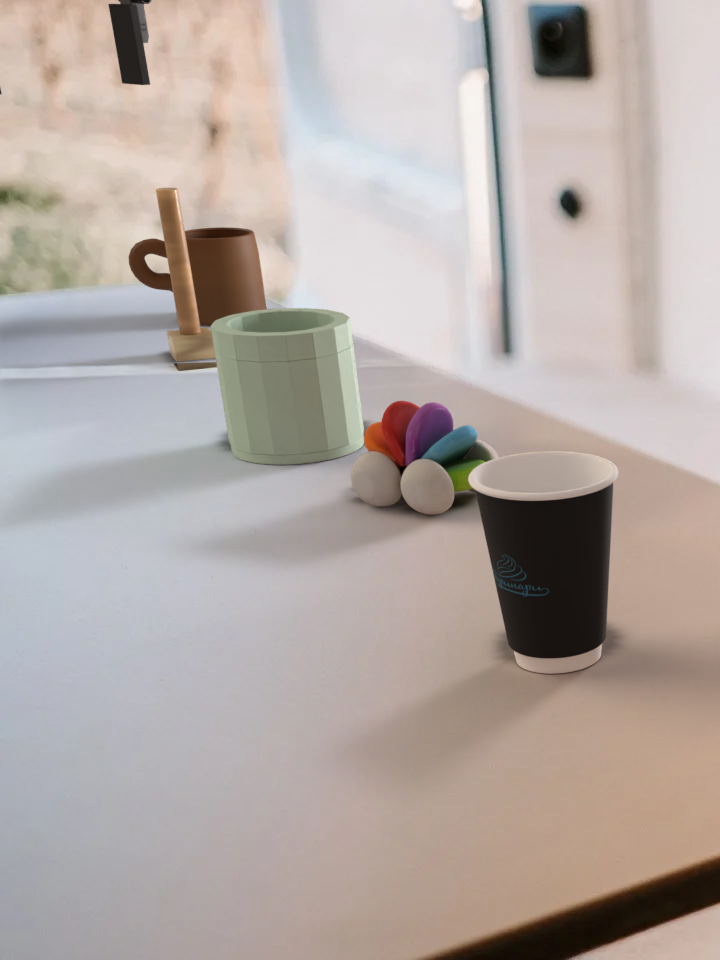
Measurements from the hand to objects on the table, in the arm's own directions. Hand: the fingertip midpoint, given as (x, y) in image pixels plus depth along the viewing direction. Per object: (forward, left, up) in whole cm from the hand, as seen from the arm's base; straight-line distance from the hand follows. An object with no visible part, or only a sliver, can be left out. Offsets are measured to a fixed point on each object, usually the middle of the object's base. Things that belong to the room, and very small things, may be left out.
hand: (64, 89), depth 135 cm
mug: (+4, +21, -25) cm, 33 cm away
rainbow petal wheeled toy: (+30, -39, -25) cm, 55 cm away
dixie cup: (+39, -69, -25) cm, 83 cm away
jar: (+19, -24, -25) cm, 39 cm away
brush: (+6, +5, -25) cm, 26 cm away
